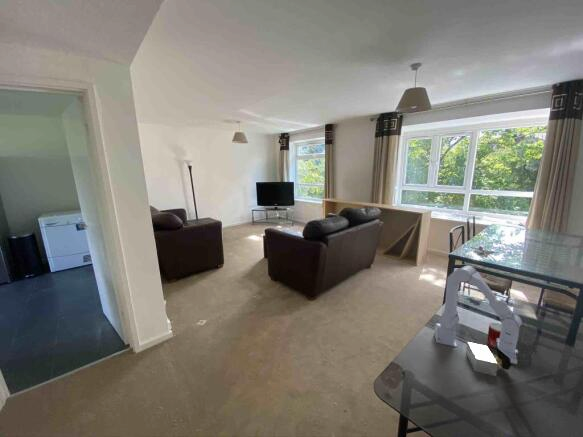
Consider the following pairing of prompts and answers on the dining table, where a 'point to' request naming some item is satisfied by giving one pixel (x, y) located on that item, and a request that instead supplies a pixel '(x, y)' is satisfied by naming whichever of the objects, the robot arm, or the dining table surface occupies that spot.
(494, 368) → the housing
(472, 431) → the dining table surface
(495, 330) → the canned food
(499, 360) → the brass flanged cylinder
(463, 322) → the dining table surface
